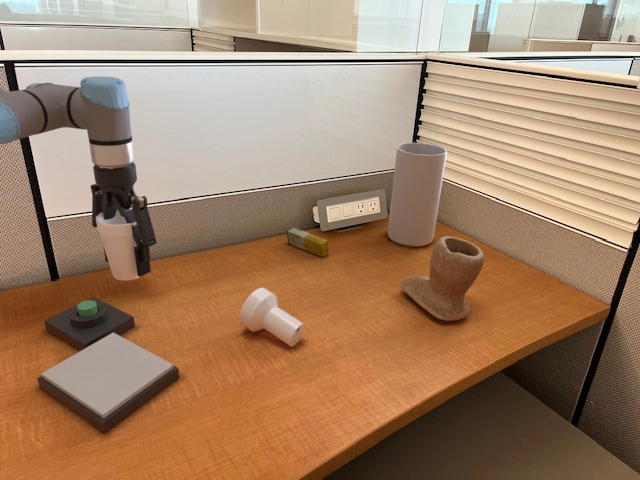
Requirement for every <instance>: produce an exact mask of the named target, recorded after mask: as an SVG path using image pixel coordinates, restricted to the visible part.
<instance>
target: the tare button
mask: <svg viewBox="0 0 640 480" xmlns="http://www.w3.org/2000/svg"><path fill="white" fill-rule="evenodd" d="M86 300H87V299H86ZM77 304H78V305H77ZM77 304H76V305H77V309H78V314H79V316H80V317H90V316H93V315H95V314H97V312H98V309H97V304H96V302H95V301H92V300H87V301H85V300H84V301H81V302H79V303H77Z"/></svg>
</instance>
